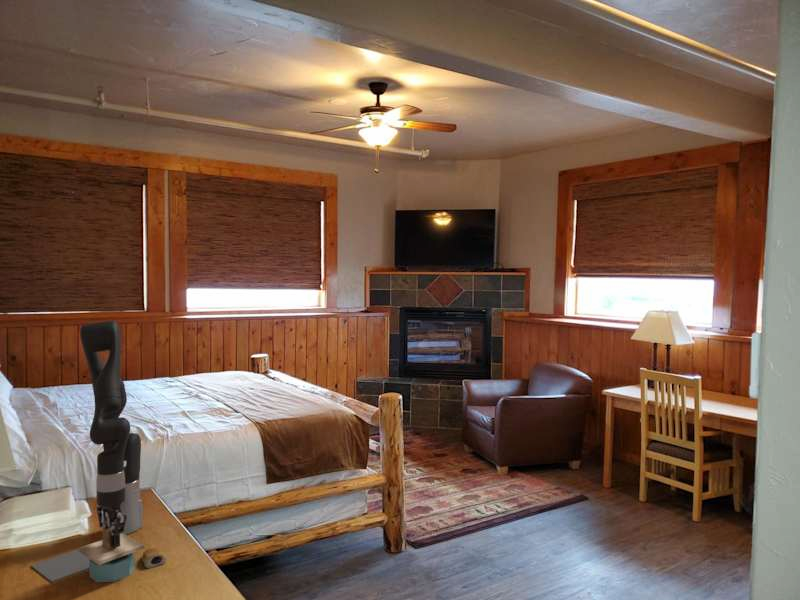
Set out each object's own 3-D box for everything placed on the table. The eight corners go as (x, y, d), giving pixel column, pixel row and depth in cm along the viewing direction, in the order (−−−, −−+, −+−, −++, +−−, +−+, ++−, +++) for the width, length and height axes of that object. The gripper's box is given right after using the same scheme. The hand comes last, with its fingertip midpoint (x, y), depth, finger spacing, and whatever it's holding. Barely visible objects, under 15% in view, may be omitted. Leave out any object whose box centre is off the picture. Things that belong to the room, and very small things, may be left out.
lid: (122, 536, 181) (122, 517, 181) (144, 548, 173) (143, 528, 173) (78, 551, 171) (78, 531, 171) (99, 564, 163) (98, 543, 163)
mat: (83, 548, 188) (83, 547, 188) (105, 562, 179) (105, 561, 179) (31, 566, 176) (31, 565, 176) (52, 582, 167) (52, 581, 167)
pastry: (138, 557, 182) (138, 545, 182) (161, 552, 186) (161, 540, 186) (145, 570, 175) (145, 557, 175) (169, 564, 179) (169, 551, 179)
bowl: (121, 559, 181) (121, 543, 180) (140, 570, 174) (140, 554, 174) (84, 573, 172) (84, 557, 172) (102, 586, 165) (102, 568, 165)
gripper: (135, 488, 170) (136, 547, 171) (112, 478, 179) (112, 533, 180) (109, 495, 164) (110, 556, 165) (86, 484, 173) (87, 542, 174)
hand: (111, 544), depth 172 cm, fingers closed on lid, 3 cm apart
